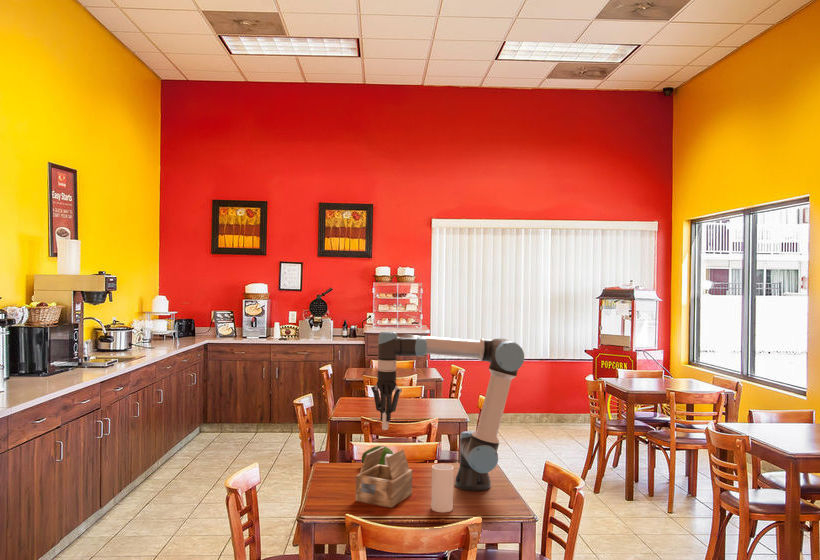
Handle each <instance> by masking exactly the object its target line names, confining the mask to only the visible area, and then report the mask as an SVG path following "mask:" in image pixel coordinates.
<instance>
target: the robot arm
mask: <svg viewBox="0 0 820 560" xmlns="http://www.w3.org/2000/svg"><path fill="white" fill-rule="evenodd" d="M377 341H378V342H377V381H376V384H375V385H373V386H371V387H370V388H371V391H372V393H373V398H374V399H373V400H374V404H375V408H376V409H375V410H376V411H377V412H380V421H382V423H381V430H382V431H387V430H389V426H390V425H389V423H390V422H391V420H392V419H391V416H392V413H394V412H396V410H397V406H398V402H399V398H400V394H401V393H402V389H403V388H400V387H398V386H397V371H396V370H397V358H398V357H397V356H406V357H408V356H409V357H424V356H426V355H437V356H447V357H460V358H471V359H478V361H479V362H487V363H489V367H488V371H489V372H490V377H489V381H488V385H487V388H486V393H485V396H484V401H483V404H482V407H481V412H480V416H479V420H478V423H477V427H476V430H466V431H462V432H460V437H459V468H458V469H457V473H456V476H455V479H454V480H455V483H454V484H455V485H454V486H455V487H456V488H459V489H461V490H463V491H464V490H466V491H472V492H474V491H475V492H479V491H486V490H488V489H490V488H491V486H492V485H491V482H492V481H491V479H490V478H491V477H490V474H489V473H490V472H491V471H493V470H494V469H495V468H496V467H497V466H498V462H499V454H498V450H499V446H500V440H499V438H498V434H499V430H500V426H501V422H502V418H503V415H504V411H505V406H506V403H507V399H508V395H509V391H510V387H511V383H512V380H513V379H515V378H517V376H518V375H517V374H518V371H519V369H520V368H521V367H523V365H524V362H525V352H524V350H523V348H522V346H521V345H520V344H518V343H517V342H515V341H513V340H509V339H506V338H480V339H479V340H478V339H477V340H475V339H466V338H465V339H464V338H452V337H441V336H429V335H416V334H411V333H406V334H404V335H402V336H398V333H397V331H381V332H379V333H378V340H377ZM393 392H394V394H393Z"/></svg>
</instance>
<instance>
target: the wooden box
mask: <svg viewBox="0 0 820 560" xmlns="http://www.w3.org/2000/svg"><path fill="white" fill-rule="evenodd" d="M412 495H413V469H410V468H409V469H408V470H406V471H405V472H403V473H401V474H400V475H398V476H396V477H395V478H392V477H391V473H390V470H389V466H387V465H380V464H378V465H376V466H374V467H372V468H370V469H368V470H366V471H364V472H363V473H360V472H359V473H358V474H356V475H355V502H360V503H363V504H369V505H374V506H379V507H384V508H389V509H392V508H394V507H395V506H397V505H398V504H400V503H401V502H403V501H404V500H406V499H408V498H409V497H410V496H412Z"/></svg>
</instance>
